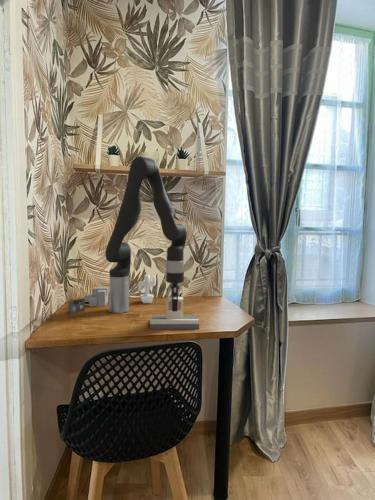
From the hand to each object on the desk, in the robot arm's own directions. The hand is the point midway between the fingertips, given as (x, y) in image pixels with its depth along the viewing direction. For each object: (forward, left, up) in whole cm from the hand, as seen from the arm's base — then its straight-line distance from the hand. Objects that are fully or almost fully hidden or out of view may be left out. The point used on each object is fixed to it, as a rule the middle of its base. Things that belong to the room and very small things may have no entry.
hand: (174, 308), depth 133 cm
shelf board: (0, -1, -7) cm, 7 cm away
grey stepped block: (-42, +34, -7) cm, 55 cm away
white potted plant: (-15, +37, -7) cm, 40 cm away
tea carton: (0, 0, -5) cm, 5 cm away
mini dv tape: (-47, +18, -7) cm, 51 cm away
